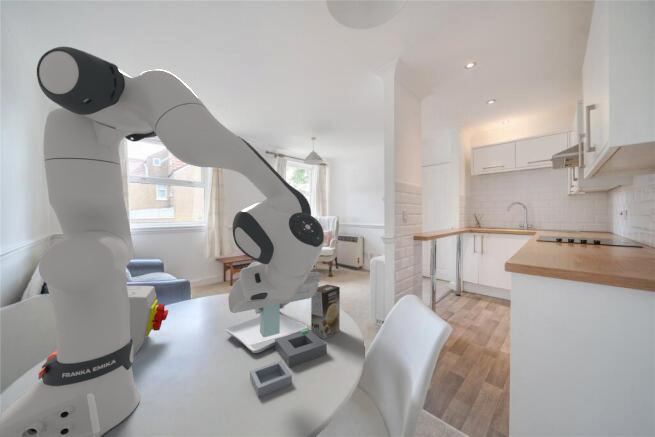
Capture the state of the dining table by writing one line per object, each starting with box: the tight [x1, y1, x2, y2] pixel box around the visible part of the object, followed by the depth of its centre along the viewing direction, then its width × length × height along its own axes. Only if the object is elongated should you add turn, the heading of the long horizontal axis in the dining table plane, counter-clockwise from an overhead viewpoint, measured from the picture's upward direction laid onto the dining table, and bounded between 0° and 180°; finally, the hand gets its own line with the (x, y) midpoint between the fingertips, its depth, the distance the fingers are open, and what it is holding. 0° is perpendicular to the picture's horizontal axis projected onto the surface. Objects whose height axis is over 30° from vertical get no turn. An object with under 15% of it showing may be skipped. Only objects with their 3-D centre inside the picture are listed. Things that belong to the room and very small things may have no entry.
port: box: [274, 328, 328, 368], centre depth 72 cm, size 12×11×5 cm
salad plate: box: [225, 313, 309, 354], centre depth 84 cm, size 21×21×3 cm
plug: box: [259, 304, 281, 337], centre depth 59 cm, size 4×3×11 cm
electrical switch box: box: [127, 285, 169, 356], centre depth 78 cm, size 15×15×20 cm
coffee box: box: [310, 284, 341, 340], centre depth 86 cm, size 9×6×16 cm
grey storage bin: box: [249, 360, 293, 398], centre depth 59 cm, size 8×7×3 cm
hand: (269, 308), depth 59 cm, fingers closed on plug, 4 cm apart
